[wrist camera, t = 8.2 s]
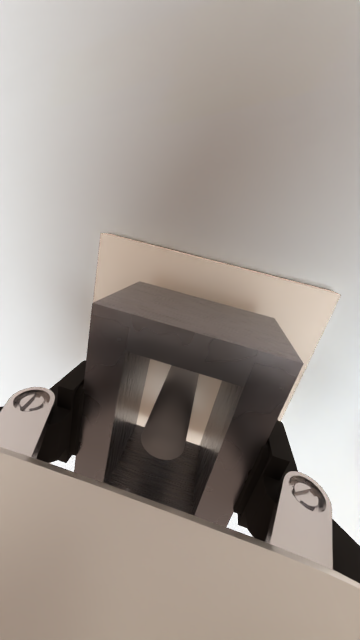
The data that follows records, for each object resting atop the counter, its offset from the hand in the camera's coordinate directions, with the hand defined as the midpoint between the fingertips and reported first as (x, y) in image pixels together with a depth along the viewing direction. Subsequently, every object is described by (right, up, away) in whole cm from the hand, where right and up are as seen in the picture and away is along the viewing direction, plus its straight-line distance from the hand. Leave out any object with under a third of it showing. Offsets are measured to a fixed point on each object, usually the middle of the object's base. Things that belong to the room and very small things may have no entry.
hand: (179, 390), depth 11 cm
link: (0, 0, +1) cm, 1 cm away
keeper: (+1, +1, +3) cm, 3 cm away
